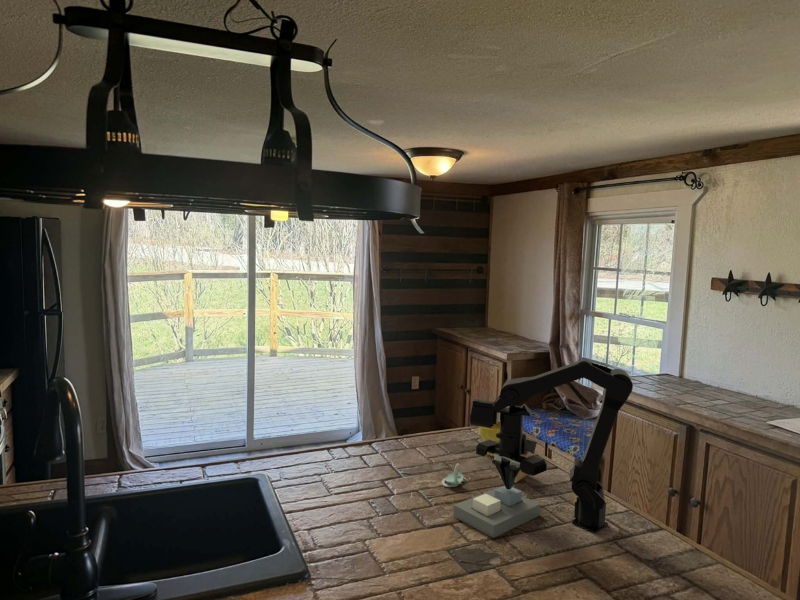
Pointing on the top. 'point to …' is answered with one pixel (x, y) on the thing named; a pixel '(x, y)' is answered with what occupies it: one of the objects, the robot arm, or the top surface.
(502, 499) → the slate key
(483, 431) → the plant pot
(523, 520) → the keypad
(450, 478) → the pacifier
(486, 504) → the cream key
